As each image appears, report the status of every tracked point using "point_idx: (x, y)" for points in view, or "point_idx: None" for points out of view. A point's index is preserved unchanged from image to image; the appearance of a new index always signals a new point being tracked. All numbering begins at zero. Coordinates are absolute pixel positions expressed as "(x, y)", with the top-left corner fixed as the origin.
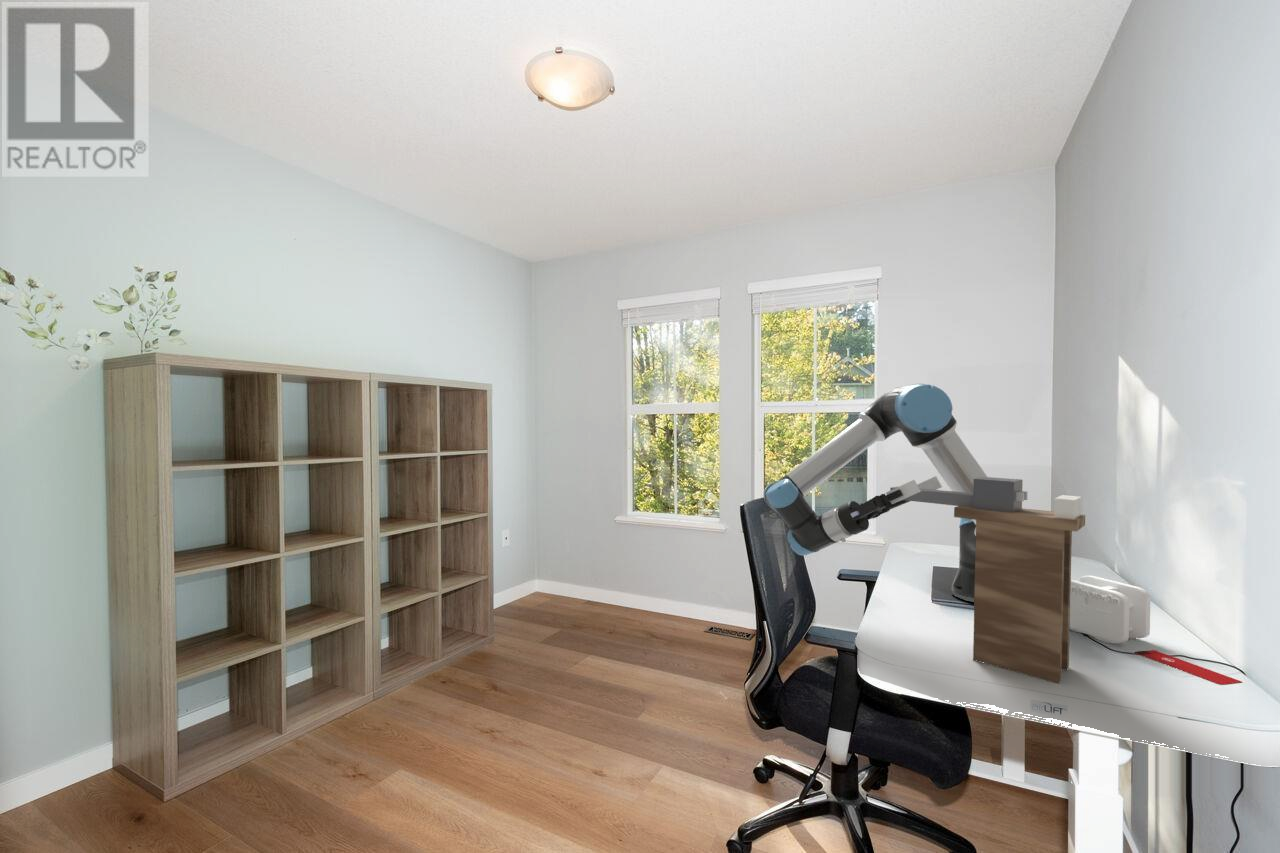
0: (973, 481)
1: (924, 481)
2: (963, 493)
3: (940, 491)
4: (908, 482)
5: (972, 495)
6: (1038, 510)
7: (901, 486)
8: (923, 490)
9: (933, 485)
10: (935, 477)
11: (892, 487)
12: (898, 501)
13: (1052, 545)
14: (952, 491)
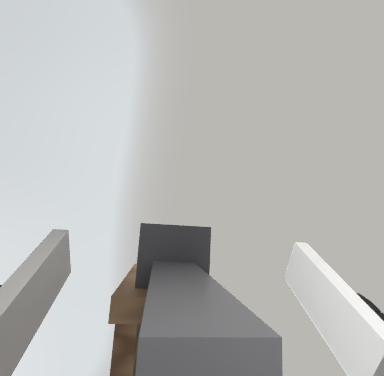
0: (210, 232)
1: (45, 261)
2: (178, 265)
3: (186, 274)
4: (316, 254)
5: (195, 263)
6: (135, 271)
7: (335, 277)
8: (213, 284)
9: (59, 272)
10: (67, 234)
11: (253, 335)
12: (339, 362)
13: None
14: (153, 269)
